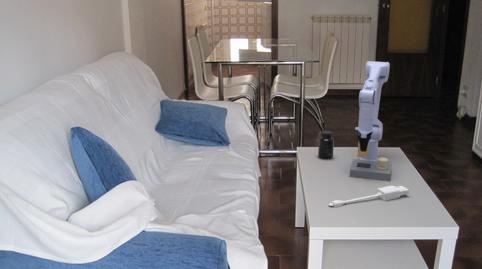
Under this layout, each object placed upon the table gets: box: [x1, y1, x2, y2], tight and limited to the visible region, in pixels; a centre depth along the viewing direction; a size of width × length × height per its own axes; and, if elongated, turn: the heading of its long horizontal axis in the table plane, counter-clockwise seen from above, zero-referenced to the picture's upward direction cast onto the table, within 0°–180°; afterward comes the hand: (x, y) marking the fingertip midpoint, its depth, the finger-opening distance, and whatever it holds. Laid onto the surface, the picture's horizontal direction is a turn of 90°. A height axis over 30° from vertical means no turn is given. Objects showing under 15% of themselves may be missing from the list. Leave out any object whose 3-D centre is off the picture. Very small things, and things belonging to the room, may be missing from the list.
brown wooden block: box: [357, 140, 369, 158], centre depth 205 cm, size 4×4×7 cm
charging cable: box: [328, 185, 410, 208], centre depth 180 cm, size 5×32×3 cm, turn 110°
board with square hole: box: [349, 156, 392, 182], centre depth 206 cm, size 14×16×7 cm
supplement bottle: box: [317, 130, 335, 160], centre depth 224 cm, size 7×7×12 cm
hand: (363, 149), depth 205 cm, fingers closed on brown wooden block, 4 cm apart
